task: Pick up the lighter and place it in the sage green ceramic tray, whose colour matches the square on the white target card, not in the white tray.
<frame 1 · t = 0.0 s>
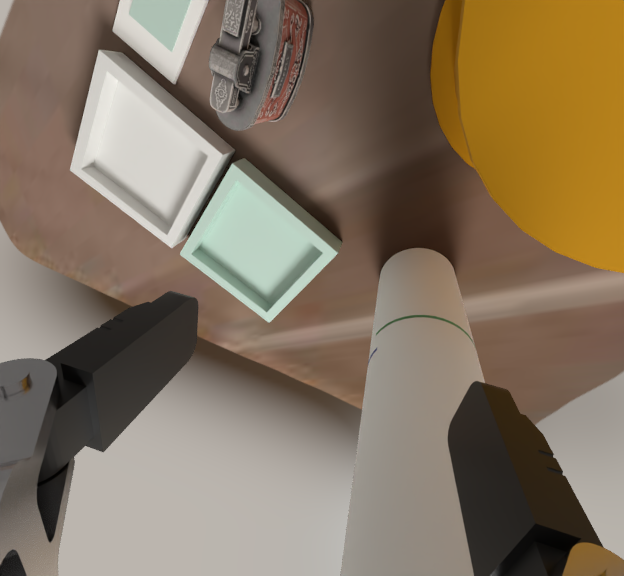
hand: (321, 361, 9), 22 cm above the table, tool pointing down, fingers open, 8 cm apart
lighter: (284, 65, 25), on the table
spool: (578, 42, 21), on the table
white tray: (157, 158, 32), on the table
cylindrical container: (416, 280, 32), on the table
green tray: (262, 243, 34), on the table
target card: (162, 7, 25), on the table
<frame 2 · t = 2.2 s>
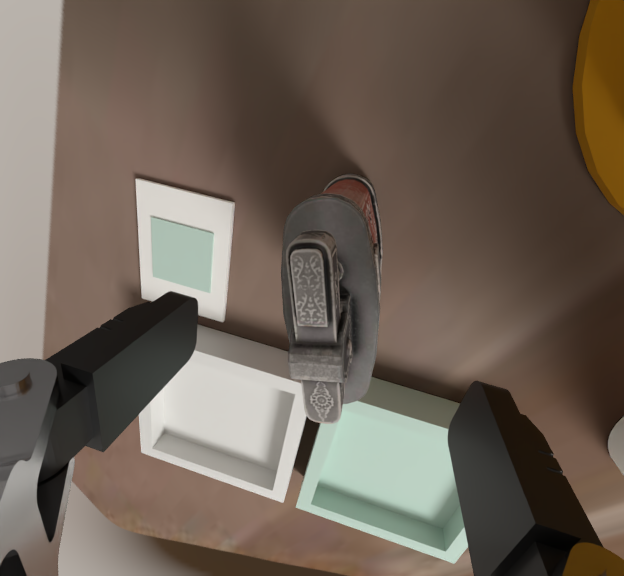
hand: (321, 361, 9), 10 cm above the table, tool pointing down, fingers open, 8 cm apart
lighter: (351, 249, 18), on the table
white tray: (230, 399, 25), on the table
green tray: (397, 453, 23), on the table
target card: (185, 254, 20), on the table
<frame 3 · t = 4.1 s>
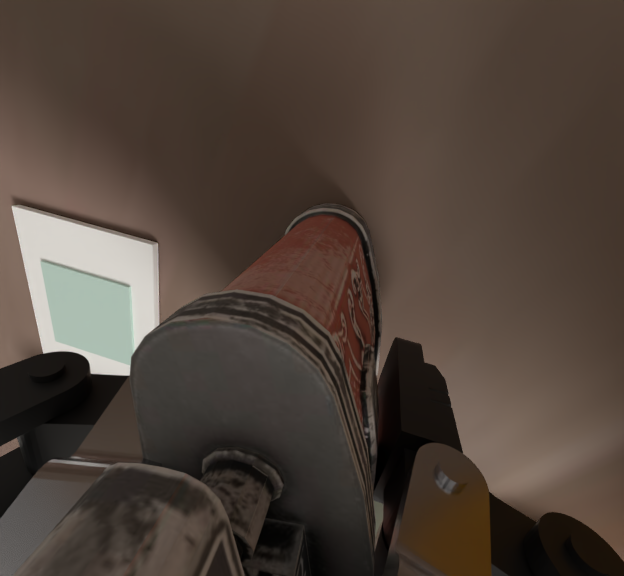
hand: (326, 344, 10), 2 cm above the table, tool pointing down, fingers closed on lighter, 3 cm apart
lighter: (334, 314, 12), on the table, touching gripper
target card: (97, 311, 14), on the table
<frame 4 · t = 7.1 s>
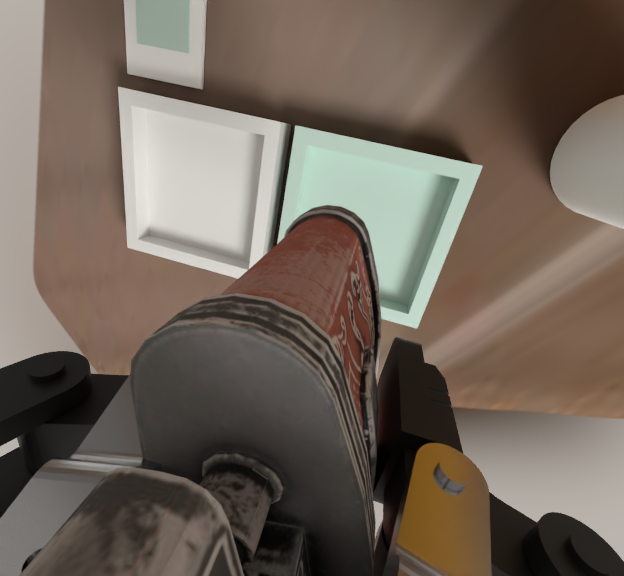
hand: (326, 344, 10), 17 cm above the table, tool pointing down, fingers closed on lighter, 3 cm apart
lighter: (334, 315, 12), point 15 cm above the table, touching gripper
white tray: (210, 189, 27), on the table
cylindrical container: (614, 158, 20), on the table
green tray: (363, 227, 25), on the table
target card: (165, 15, 22), on the table
when the fingers open (5 cm above the table, at t = 10.0 s): lighter drops 2 cm, resting on green tray.
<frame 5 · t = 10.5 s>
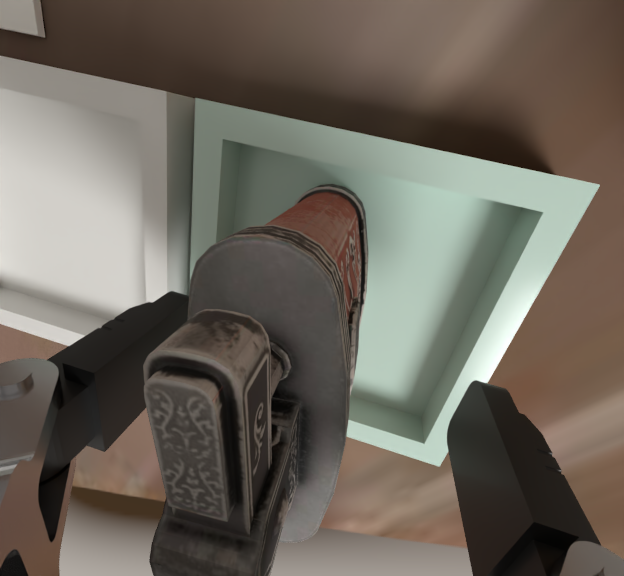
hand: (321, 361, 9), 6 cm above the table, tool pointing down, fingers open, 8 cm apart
lighter: (326, 283, 13), point 1 cm above the table, touching green tray
white tray: (87, 215, 16), on the table
green tray: (345, 285, 14), on the table
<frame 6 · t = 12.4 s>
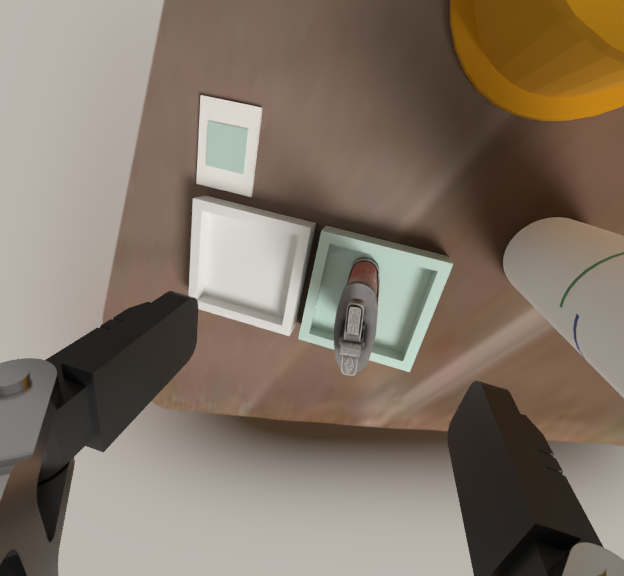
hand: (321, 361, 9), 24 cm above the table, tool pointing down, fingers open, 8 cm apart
lighter: (362, 294, 33), point 1 cm above the table, touching green tray
white tray: (253, 263, 35), on the table
cylindrical container: (546, 257, 29), on the table
green tray: (369, 295, 33), on the table
target card: (228, 148, 31), on the table
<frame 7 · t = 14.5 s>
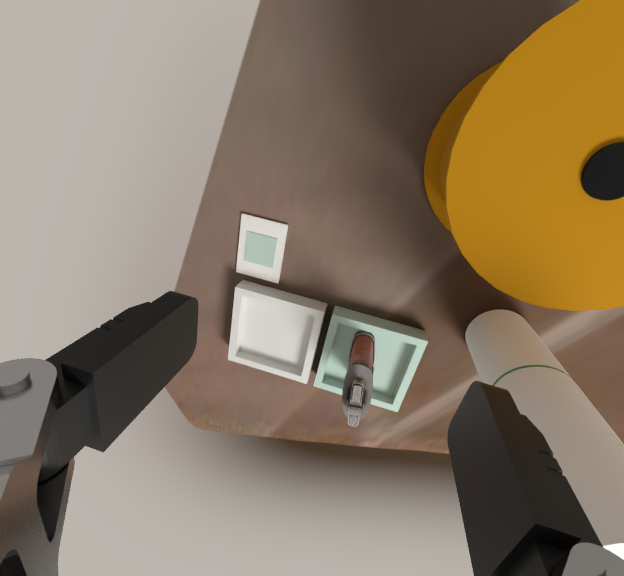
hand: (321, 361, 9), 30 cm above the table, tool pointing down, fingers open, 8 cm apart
lighter: (362, 354, 44), point 1 cm above the table, touching green tray
spool: (518, 161, 32), on the table
white tray: (278, 328, 46), on the table
cylindrical container: (496, 334, 39), on the table
green tray: (367, 354, 44), on the table
target card: (261, 249, 41), on the table
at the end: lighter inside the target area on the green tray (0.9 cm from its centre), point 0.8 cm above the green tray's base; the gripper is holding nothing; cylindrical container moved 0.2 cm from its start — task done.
